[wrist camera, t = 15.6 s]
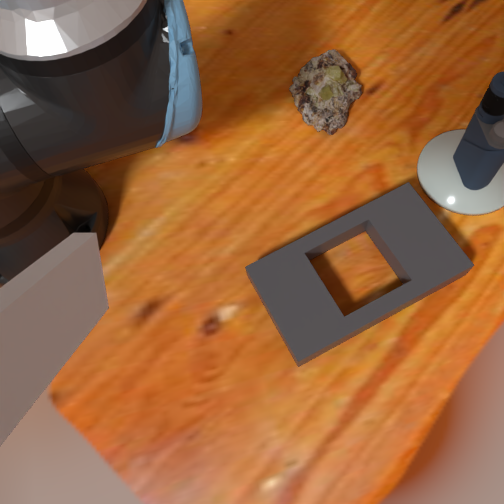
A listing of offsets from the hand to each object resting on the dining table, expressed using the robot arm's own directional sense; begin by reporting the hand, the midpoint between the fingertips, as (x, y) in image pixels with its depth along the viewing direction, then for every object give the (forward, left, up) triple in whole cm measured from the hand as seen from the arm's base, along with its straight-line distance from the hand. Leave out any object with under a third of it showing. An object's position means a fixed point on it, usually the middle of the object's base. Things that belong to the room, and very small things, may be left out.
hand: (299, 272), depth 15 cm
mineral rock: (-27, +19, -30) cm, 45 cm away
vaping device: (-11, +26, -29) cm, 41 cm away
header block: (-7, +10, -30) cm, 32 cm away
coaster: (-11, +26, -30) cm, 41 cm away
